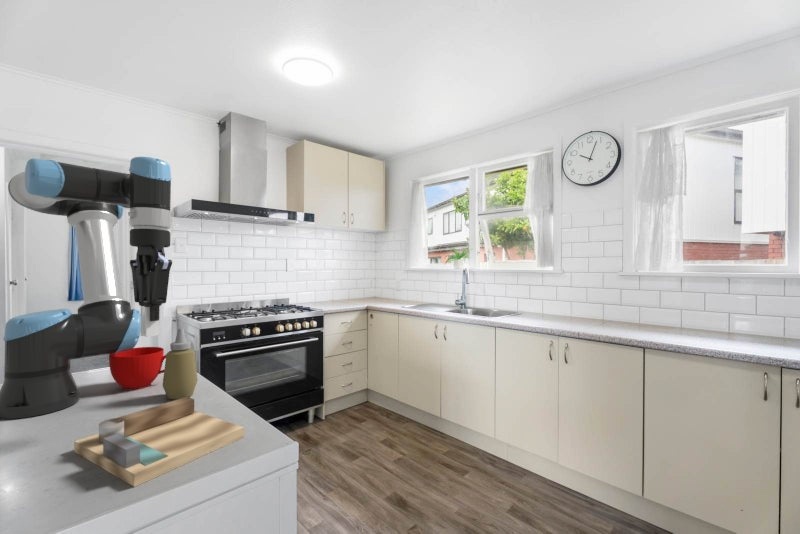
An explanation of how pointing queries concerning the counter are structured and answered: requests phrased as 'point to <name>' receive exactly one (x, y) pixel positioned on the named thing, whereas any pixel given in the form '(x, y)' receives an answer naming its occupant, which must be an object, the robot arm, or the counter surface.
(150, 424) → the hinged leg
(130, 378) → the ceramic cup
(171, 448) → the wooden flat board
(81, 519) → the counter surface
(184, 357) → the squeeze bottle
